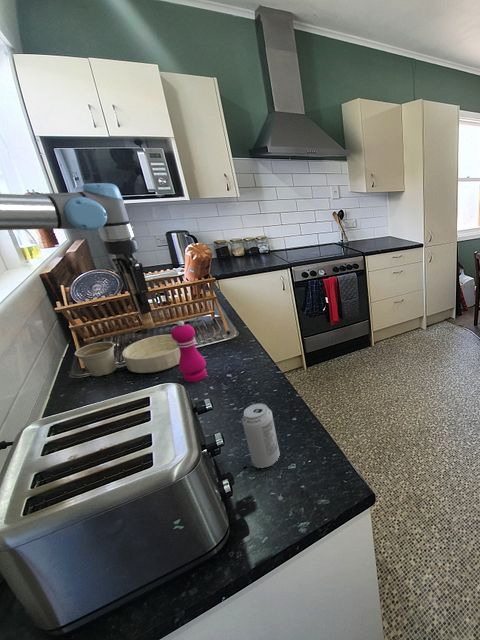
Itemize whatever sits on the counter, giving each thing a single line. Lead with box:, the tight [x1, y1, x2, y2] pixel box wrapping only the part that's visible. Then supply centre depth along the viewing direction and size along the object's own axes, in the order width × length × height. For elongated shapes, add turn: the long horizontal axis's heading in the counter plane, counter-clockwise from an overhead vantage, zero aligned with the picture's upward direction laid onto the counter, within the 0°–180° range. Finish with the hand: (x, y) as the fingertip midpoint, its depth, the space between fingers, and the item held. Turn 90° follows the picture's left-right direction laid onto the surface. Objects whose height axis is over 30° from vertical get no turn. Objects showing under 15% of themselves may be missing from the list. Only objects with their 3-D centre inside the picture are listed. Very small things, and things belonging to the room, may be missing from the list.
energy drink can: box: [241, 402, 281, 469], centre depth 79 cm, size 6×6×15 cm
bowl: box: [121, 333, 180, 374], centre depth 119 cm, size 17×17×6 cm
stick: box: [123, 269, 155, 329], centre depth 111 cm, size 3×3×20 cm
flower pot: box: [74, 341, 117, 377], centre depth 112 cm, size 9×9×9 cm
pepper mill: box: [170, 320, 208, 383], centre depth 108 cm, size 7×7×20 cm
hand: (143, 311), depth 112 cm, fingers closed on stick, 3 cm apart
